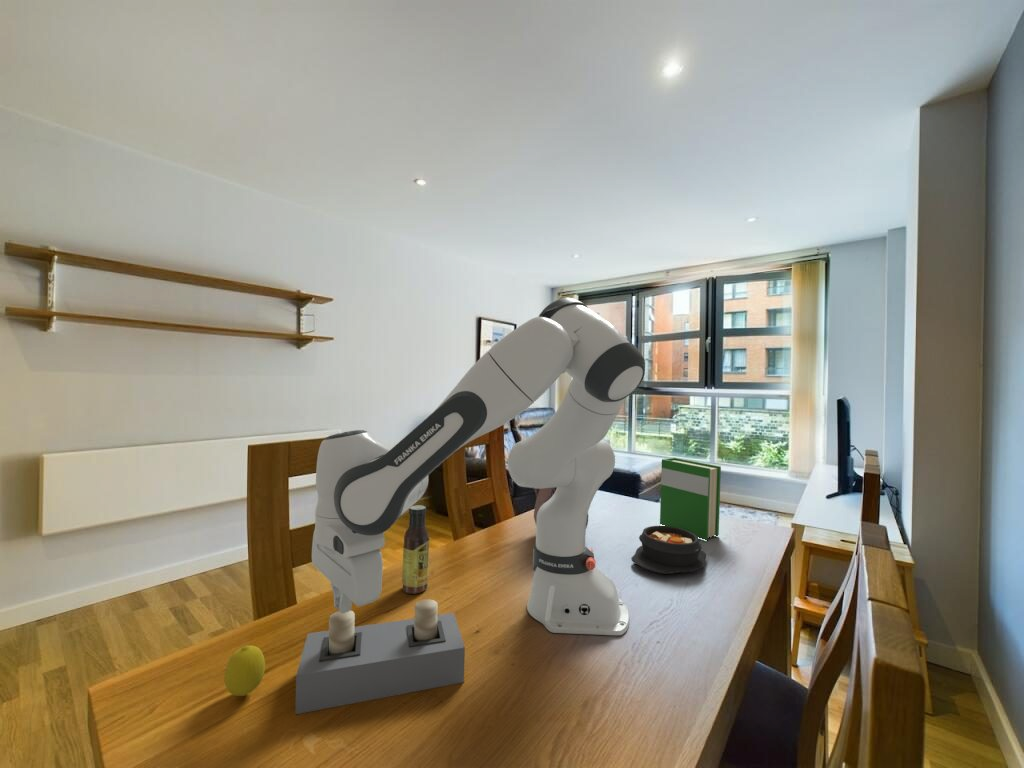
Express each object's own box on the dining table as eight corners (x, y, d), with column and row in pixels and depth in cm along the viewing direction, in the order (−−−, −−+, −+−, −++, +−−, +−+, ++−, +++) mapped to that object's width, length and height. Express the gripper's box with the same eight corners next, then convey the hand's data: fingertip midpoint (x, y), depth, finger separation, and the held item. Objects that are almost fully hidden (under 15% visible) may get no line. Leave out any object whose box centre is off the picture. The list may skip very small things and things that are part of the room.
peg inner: (435, 629, 79) (436, 598, 79) (438, 642, 75) (439, 609, 75) (413, 632, 78) (414, 600, 77) (415, 646, 74) (415, 612, 74)
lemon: (236, 683, 71) (236, 636, 71) (271, 682, 72) (271, 635, 72) (216, 709, 66) (216, 658, 66) (254, 708, 66) (254, 657, 66)
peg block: (453, 643, 83) (454, 611, 83) (463, 682, 73) (464, 646, 73) (307, 666, 76) (307, 632, 76) (295, 714, 65) (296, 673, 65)
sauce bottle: (421, 596, 100) (423, 512, 100) (397, 593, 102) (399, 510, 101) (432, 583, 107) (434, 504, 107) (409, 580, 108) (410, 502, 108)
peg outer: (354, 641, 75) (355, 608, 74) (353, 655, 71) (354, 621, 71) (330, 645, 73) (330, 611, 73) (327, 660, 70) (327, 624, 69)
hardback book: (718, 537, 144) (720, 466, 143) (706, 542, 139) (708, 468, 139) (672, 522, 158) (674, 457, 158) (659, 525, 154) (661, 459, 153)
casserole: (674, 588, 108) (675, 555, 107) (615, 562, 122) (616, 533, 122) (722, 564, 123) (723, 535, 123) (664, 543, 138) (665, 517, 137)
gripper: (302, 515, 77) (301, 591, 77) (350, 550, 62) (349, 644, 62) (337, 508, 81) (336, 580, 82) (390, 540, 67) (388, 627, 67)
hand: (342, 609), depth 72 cm, fingers closed
